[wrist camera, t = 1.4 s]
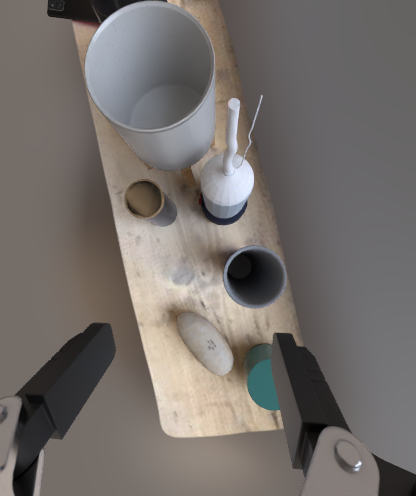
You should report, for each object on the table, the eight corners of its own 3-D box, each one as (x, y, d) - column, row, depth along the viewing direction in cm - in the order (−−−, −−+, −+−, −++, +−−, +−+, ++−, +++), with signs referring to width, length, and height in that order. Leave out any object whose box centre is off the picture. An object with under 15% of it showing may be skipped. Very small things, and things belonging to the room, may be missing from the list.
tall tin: (143, 217, 37) (117, 204, 27) (158, 192, 37) (138, 171, 27) (167, 232, 37) (149, 226, 27) (183, 208, 37) (171, 192, 27)
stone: (189, 301, 34) (246, 354, 30) (193, 307, 40) (241, 353, 36) (164, 328, 32) (221, 389, 29) (172, 331, 38) (220, 382, 34)
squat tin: (234, 372, 36) (237, 391, 31) (258, 335, 36) (265, 348, 31) (272, 397, 36) (281, 420, 31) (296, 360, 36) (309, 377, 31)
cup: (248, 241, 37) (270, 235, 22) (263, 275, 36) (297, 292, 21) (214, 256, 37) (212, 261, 22) (229, 290, 37) (239, 318, 22)
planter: (137, 133, 38) (66, 28, 20) (202, 109, 37) (189, -20, 20) (159, 198, 37) (108, 150, 20) (225, 174, 37) (233, 103, 19)
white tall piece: (194, 192, 37) (148, 71, 12) (235, 174, 37) (274, 12, 12) (211, 232, 37) (201, 193, 12) (252, 214, 37) (330, 137, 12)
